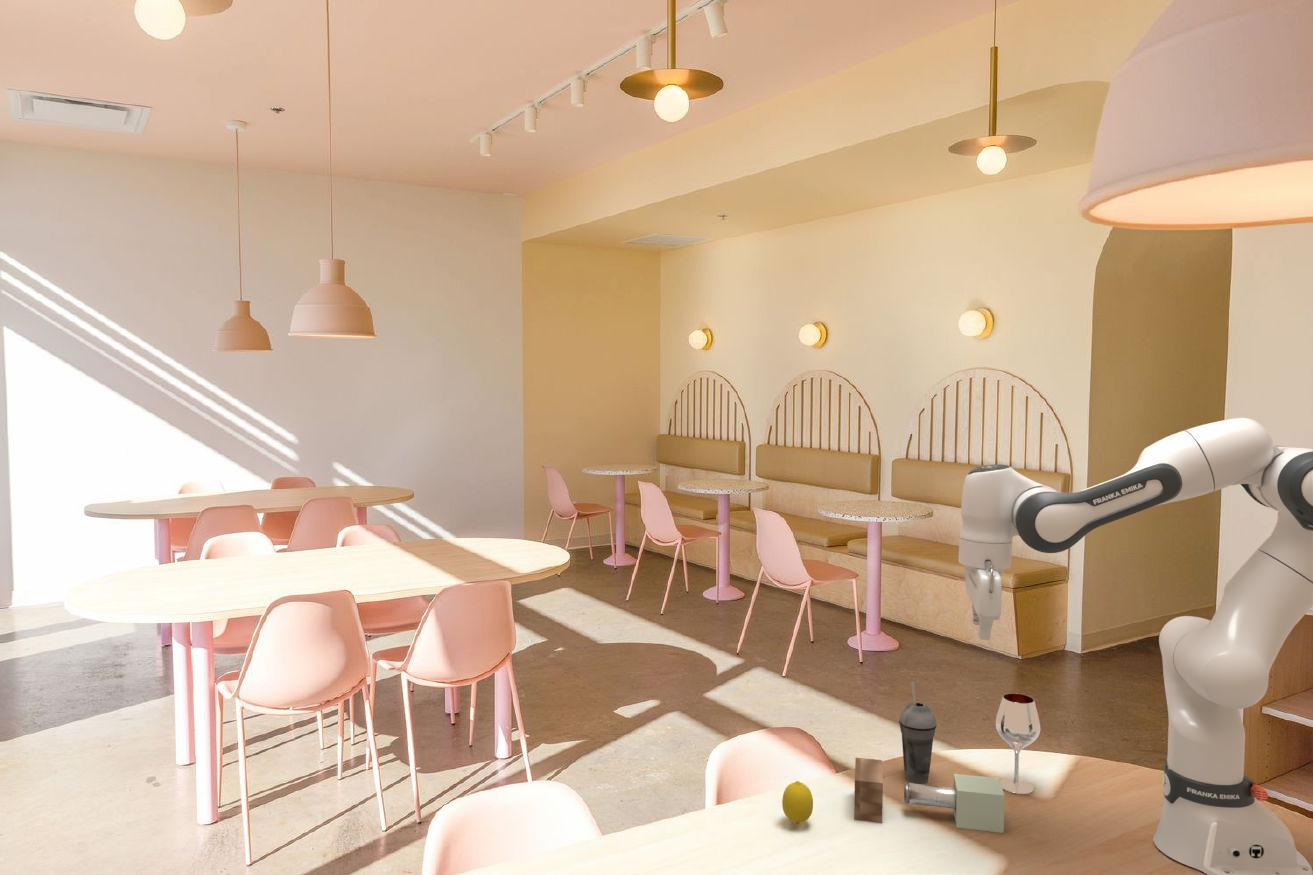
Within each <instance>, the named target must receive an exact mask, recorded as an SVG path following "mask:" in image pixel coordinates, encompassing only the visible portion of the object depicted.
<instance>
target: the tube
mask: <svg viewBox="0 0 1313 875" xmlns="http://www.w3.org/2000/svg"><path fill="white" fill-rule="evenodd" d="M956 797H957V791H956V788H953V787H949V786H941V785H933V784H931V785H930V784H914V783H911V782H903V804H908V805H915V806H917V805H918V806H927V807H934V808H935V807H936V808H943V809H952V810H953V809H956Z"/></svg>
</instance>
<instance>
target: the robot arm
mask: <svg viewBox="0 0 1313 875" xmlns="http://www.w3.org/2000/svg"><path fill="white" fill-rule="evenodd" d="M1272 439H1273V438H1272V436H1271V435H1270V433H1269V431H1268V430H1267V429H1266V428H1265V427H1264V426H1263V425H1262V424H1261V423H1259V422H1258V421H1257V420H1255V419H1251V418H1248V417H1235V418H1229V419H1223V420H1219V421H1214V422H1210V423H1205V424H1201V425H1197V426H1194V427H1191V428H1187V429H1184V430H1181V431H1178V432H1176V433H1173V434H1170V435H1168V436H1165V437H1163V438H1161V439H1160V440H1157V441H1155V442H1153V443H1151V444H1150V445H1148V446H1146V447H1145V448H1144V449H1143V450H1142V451H1141V453H1140V454H1139V456H1138V460H1137V462H1136V464H1135V465H1134V466H1132V468H1131V469H1130V470H1128V471H1127V472H1125V473H1124V474H1122V475H1120V476H1117V477H1114V478H1111V479H1109V480H1106V481H1103V482H1101V483H1098V484H1095V485H1093V486H1090V487H1086V488H1085V489H1082V490H1079V491H1075V492H1060V491H1058V490H1056V489H1055V488H1053V487H1050V486H1047V485H1045V484H1042V483H1039V482H1037V481H1036V480H1035V481H1034V480H1032V479H1030V478H1029V477H1027V476H1026V475H1023V474H1021V473H1019V472H1017V471H1016V470H1015V469H1013V467H1012V466H1010V465H1007V464H1001V463H1000V464H987V465H982V466H977V467H975V468H972V469H971V470H970V471H969V472H967V474H966V475H965V476H966V477H965V478H964V481H963V486H962V492H961V502H960V503H961V504H960V515H961V520H962V521H961V522H962V525H961V530H960V533H959V542H958V561H957V562H958V563H959V564H960V565H963V566H964V582H965V590H966V593H967V595H968V597H969V600H970V602H971V610H972V624H973V625H975V626H979V627H978V637H979V640H982V641H989V640H990V639H991V632H992V627H993V624H994V621H999V620H1000V618H1001V615H1002V590H1003V589H1002V576H1003V575H1004V570H1008V569H1010V568H1011V567H1012V552H1013V538H1014V537H1017V536H1018V537H1020V539H1021V540H1022V541H1023V542H1024V543H1025V545H1027V546H1028V547H1030V548H1031V549H1033V550H1035V551H1037V552H1040V553H1045V554H1057V553H1061V552H1065V551H1066V550H1068V549H1071V548H1072V547H1073V546H1075V545H1076V544H1077V543H1078V542H1079V541H1081V540H1082V539H1084V537H1085V536H1087V534H1089V533H1090V532H1091V531H1093V530H1095V529H1098V528H1100V527H1101V526H1104V525H1107V524H1110V523H1112V522H1115V521H1118V520H1121V519H1123V518H1127V517H1129V516H1131V515H1134V514H1136V513H1137V514H1138V513H1139V512H1142V511H1144V510H1147V509H1150V508H1152V507H1157V506H1158V507H1159V506H1161V505H1166V504H1170V503H1174V502H1181V501H1185V500H1189V499H1193V498H1197V497H1200V496H1204V495H1207V494H1209V493H1210V494H1211V493H1214V492H1217V491H1219V490H1222V489H1225V488H1228V487H1229V486H1238V485H1241V486H1242V487H1243V489H1244V490H1245V491H1246V493H1247V494H1248V495H1249V496H1250V497H1251V499H1253V500H1254V501H1255V502H1257V503H1259V504H1260V505H1262V506H1264V507H1266V508H1271V509H1272V510H1274V511H1277V519H1276V524H1275V527H1274V529H1273V530H1272V532H1271V534H1270V536H1268V538H1267V539H1265V541H1263V543H1262V544H1260V546H1259V547H1258V548H1257V549H1256V550H1255V551H1254V553H1252V555H1250V557H1249V558H1248V559H1247V560H1246V561H1245V563H1243V564H1242V566H1241V567H1240V568H1239V569H1238V570H1237V571H1236V572H1235V574H1234V575H1233V576H1232V577H1230V579H1229V580H1228V582H1226V584H1225V586H1224V588H1223V593H1222V594H1223V595H1222V598H1221V601H1220V603H1219V605H1218V608H1217V609H1216V611H1215V613H1214V614H1213V617H1211V620H1209V619H1207V618H1204V617H1199V616H1193V615H1191V616H1190V615H1183V616H1177V617H1174V618H1172V619H1171V620H1169V621H1168V622H1166V624H1164V626H1163V627H1162V628H1161V630H1160V633H1159V637H1158V643H1159V649H1160V653H1161V659H1162V673H1163V683H1164V690H1165V698H1166V704H1167V705H1166V706H1167V715H1168V718H1167V719H1168V731H1167V736H1168V737H1167V759H1166V761H1165V762H1164V766H1163V774H1162V793H1163V797H1164V798H1163V805H1162V809H1161V814H1160V818H1159V822H1158V826H1157V828H1156V829H1155V833H1154V836H1153V839H1152V840H1153V843H1154V845H1155V847H1156V848H1157V849H1158V850H1160V852H1162V853H1163V854H1164V855H1166V856H1167V857H1169V859H1170V858H1171V859H1172V860H1175V861H1176V862H1179V863H1180V864H1183V865H1186V866H1187V867H1190V868H1193V869H1196V870H1198V871H1199V872H1200V871H1201V872H1203V873H1204V874H1206V875H1313V868H1312V866H1311V864H1310V863H1309V862H1308V860H1307V859H1306V858H1305V856H1304V855H1303V854H1302V853H1301V852H1299V851H1298V849H1296V843H1295V839H1294V837H1293V834H1292V833H1291V831H1290V829H1289V828H1288V826H1287V825H1286V824H1285V823H1284V822H1283V821H1282V820H1281V819H1280V817H1278V816H1277V815H1276V814H1275V813H1274V812H1272V811H1271V810H1270V809H1268V808H1267V807H1266V806H1265V805H1263V804H1262V803H1261V802H1266V801H1267V799H1268V797H1269V793H1268V791H1267V790H1266V789H1264V787H1262V786H1261V785H1259V784H1256V782H1255V781H1254V779H1252V778H1251V777H1249V776H1248V775H1246V774H1245V773H1244V772H1245V755H1246V754H1245V753H1246V751H1245V750H1246V748H1245V747H1246V731H1245V726H1244V724H1243V721H1242V717H1241V712H1240V710H1241V709H1242V710H1243V709H1247V708H1250V707H1252V706H1255V705H1256V704H1257V703H1259V702H1260V701H1261V700H1262V699H1263V698H1264V697H1265V695H1266V693H1267V690H1268V687H1269V675H1270V670H1271V669H1272V666H1273V664H1274V663H1275V660H1276V658H1277V656H1278V654H1279V652H1280V650H1281V648H1282V647H1283V645H1284V642H1285V641H1286V639H1287V637H1288V636H1289V635H1290V634H1291V632H1292V630H1293V629H1294V628H1295V626H1296V625H1297V624H1298V623H1299V622H1300V621H1301V619H1303V618H1304V616H1305V615H1306V614H1307V613H1308V612H1309V610H1310V609H1312V608H1313V448H1308V447H1303V446H1302V447H1291V446H1289V447H1288V446H1283V445H1276V444H1275V443H1274V442H1273V440H1272Z"/></svg>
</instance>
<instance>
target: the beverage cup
mask: <svg viewBox="0 0 1313 875" xmlns="http://www.w3.org/2000/svg"><path fill="white" fill-rule="evenodd" d="M910 683H911V684H910V685H911V693H912V694H911V695H912V696H911V697H912V703H909V704H908V705H906V706H904V708H903V709H902V711H901V714H900V717H899V721H898V723H899V728H900V733H901V744H902V757H903V771H904V779H905V781H907V783H913V784H923V785H926V784H927V783H928V782H929V777H930V770H931V761H932V753H933V752H932V751H933V742H934V736H935V734H936V729H937V722H936V717H935V714H934V712H933V711H932V710H931V708H930V707H929V706H927V705H926V704H924V703H921V702H917V700H916V692H915V690H916V689H915V682H914V681H910Z"/></svg>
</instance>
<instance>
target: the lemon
mask: <svg viewBox="0 0 1313 875" xmlns="http://www.w3.org/2000/svg"><path fill="white" fill-rule="evenodd" d="M782 794H783V795H782V799H781V800H782V802H781V803H782V804H781V805H782V806H781V807H782V810H783V813H784V815H785V817H786V818H787V819H788V820H789V821H791V822H793V823H795V825H800V824H802V823H804V822H806V821H807V820H809V818H810V817H811V816H812V814H813V808H814V801H813V800H814V799H813V795H812V792H811V790H810V787H808V786H807V785H806V784H805V783H803V782H800V781H799V780H796V781H794V782H791V783H790V784H788V785H787V786H786V787H785V789H784V791H783V793H782Z"/></svg>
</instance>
